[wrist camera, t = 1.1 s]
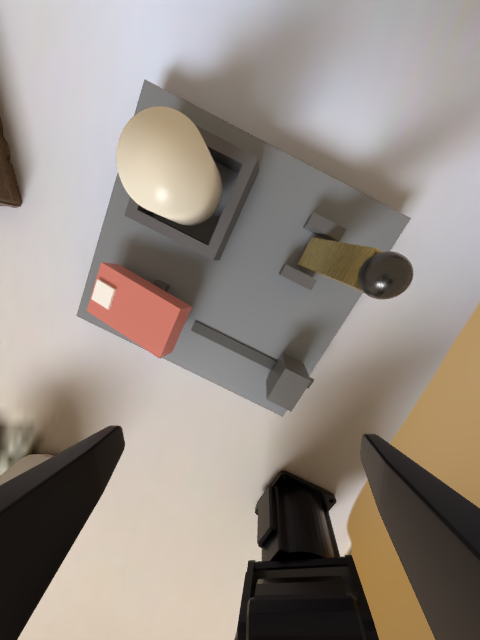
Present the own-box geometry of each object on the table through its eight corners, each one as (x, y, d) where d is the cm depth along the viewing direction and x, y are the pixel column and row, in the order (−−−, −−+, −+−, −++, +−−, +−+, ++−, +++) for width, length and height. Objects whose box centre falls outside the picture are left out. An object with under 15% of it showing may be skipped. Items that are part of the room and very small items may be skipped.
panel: (400, 225, 18) (441, 215, 14) (285, 405, 22) (290, 437, 18) (158, 99, 17) (125, 49, 13) (93, 311, 22) (54, 322, 18)
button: (234, 168, 14) (223, 134, 10) (205, 237, 15) (186, 229, 11) (169, 135, 14) (133, 87, 10) (145, 206, 15) (105, 188, 11)
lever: (329, 246, 17) (435, 268, 10) (314, 274, 17) (403, 312, 11) (307, 232, 16) (406, 246, 9) (291, 262, 16) (373, 295, 10)
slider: (304, 363, 19) (311, 381, 16) (287, 390, 19) (291, 411, 17) (282, 352, 19) (285, 368, 16) (266, 380, 19) (266, 399, 17)
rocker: (192, 306, 17) (178, 309, 15) (172, 352, 18) (157, 359, 16) (118, 263, 18) (98, 261, 16) (104, 308, 19) (84, 311, 17)
